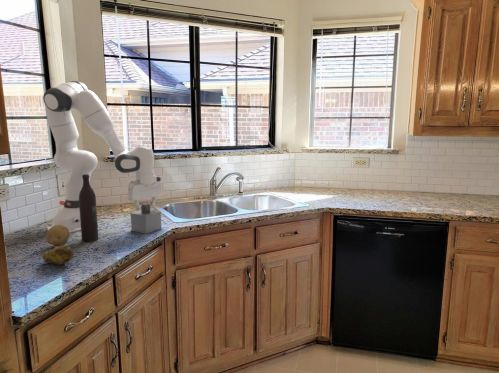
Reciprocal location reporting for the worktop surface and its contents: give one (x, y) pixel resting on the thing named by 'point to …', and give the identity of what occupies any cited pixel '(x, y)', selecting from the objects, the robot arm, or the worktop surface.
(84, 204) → the wine bottle
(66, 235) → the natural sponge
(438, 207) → the worktop surface
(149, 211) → the cover
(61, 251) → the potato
